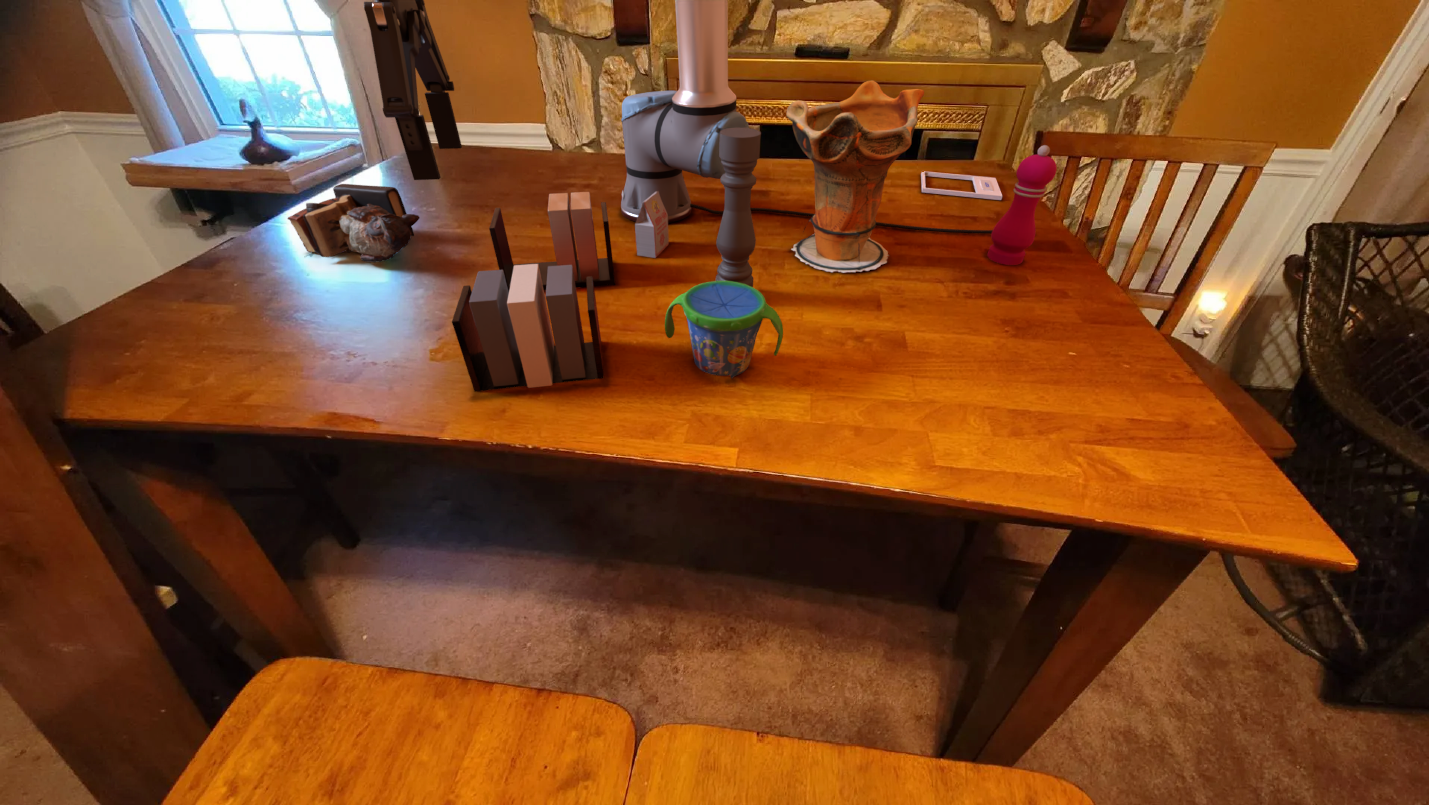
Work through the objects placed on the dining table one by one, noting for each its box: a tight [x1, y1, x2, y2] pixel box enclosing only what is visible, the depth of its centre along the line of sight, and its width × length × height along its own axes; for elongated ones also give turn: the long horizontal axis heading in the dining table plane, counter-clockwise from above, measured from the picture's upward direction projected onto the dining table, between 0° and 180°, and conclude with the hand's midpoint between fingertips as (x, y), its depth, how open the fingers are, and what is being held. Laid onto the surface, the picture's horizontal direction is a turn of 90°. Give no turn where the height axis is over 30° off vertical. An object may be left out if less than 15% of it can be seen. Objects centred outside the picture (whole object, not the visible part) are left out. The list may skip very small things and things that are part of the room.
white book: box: [507, 264, 555, 389], centre depth 70 cm, size 3×10×12 cm, turn 11°
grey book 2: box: [545, 265, 586, 380], centre depth 71 cm, size 3×8×12 cm, turn 11°
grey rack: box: [451, 276, 605, 393], centre depth 71 cm, size 16×9×11 cm, turn 101°
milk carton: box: [634, 191, 670, 259], centre depth 102 cm, size 4×7×10 cm, turn 163°
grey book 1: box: [469, 269, 521, 387], centre depth 69 cm, size 3×8×12 cm, turn 11°
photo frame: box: [920, 170, 1003, 201], centre depth 137 cm, size 15×1×18 cm
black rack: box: [488, 191, 616, 292], centre depth 92 cm, size 18×9×13 cm, turn 101°
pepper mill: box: [986, 144, 1058, 266], centre depth 98 cm, size 7×7×20 cm
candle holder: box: [715, 127, 762, 288], centre depth 83 cm, size 6×6×25 cm
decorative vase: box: [785, 80, 925, 274], centre depth 96 cm, size 21×23×28 cm
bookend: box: [287, 183, 421, 263], centre depth 100 cm, size 15×11×25 cm
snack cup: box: [664, 280, 784, 380], centre depth 73 cm, size 16×10×10 cm
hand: (440, 162), depth 69 cm, fingers open, 13 cm apart
